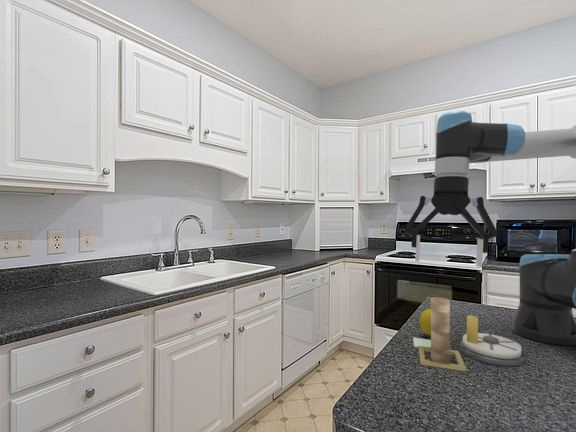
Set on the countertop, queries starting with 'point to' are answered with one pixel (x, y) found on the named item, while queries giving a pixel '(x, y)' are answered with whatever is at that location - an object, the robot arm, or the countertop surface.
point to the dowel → (440, 329)
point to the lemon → (426, 322)
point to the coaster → (421, 342)
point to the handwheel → (489, 342)
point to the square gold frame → (440, 364)
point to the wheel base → (492, 358)
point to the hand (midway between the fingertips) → (447, 263)
